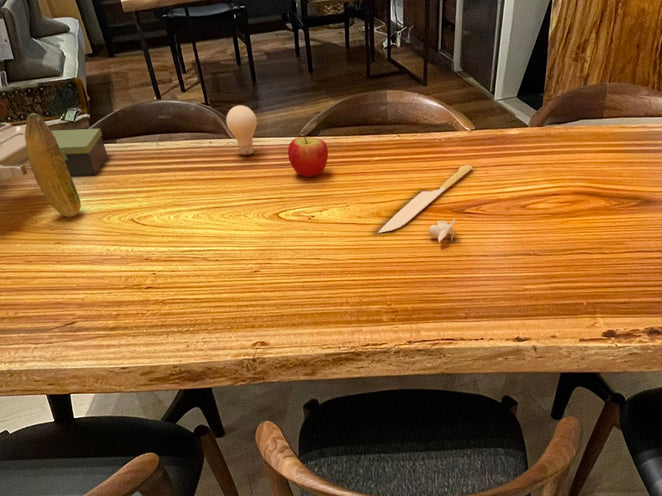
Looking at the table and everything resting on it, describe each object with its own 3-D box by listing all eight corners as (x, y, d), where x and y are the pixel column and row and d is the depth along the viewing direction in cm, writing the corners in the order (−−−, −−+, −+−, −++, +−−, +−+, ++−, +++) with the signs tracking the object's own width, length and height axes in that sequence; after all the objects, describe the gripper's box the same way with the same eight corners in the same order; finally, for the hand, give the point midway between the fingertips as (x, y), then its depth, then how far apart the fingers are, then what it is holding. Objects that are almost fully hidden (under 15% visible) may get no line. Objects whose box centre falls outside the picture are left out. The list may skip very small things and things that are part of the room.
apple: (286, 170, 137) (280, 124, 130) (323, 163, 139) (319, 118, 132) (296, 185, 131) (290, 138, 125) (334, 178, 133) (330, 131, 127)
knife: (369, 228, 116) (390, 232, 113) (457, 161, 136) (476, 163, 133) (370, 234, 117) (391, 238, 114) (457, 167, 136) (476, 169, 134)
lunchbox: (39, 178, 138) (28, 149, 133) (56, 157, 146) (46, 130, 142) (95, 176, 138) (85, 147, 134) (109, 155, 146) (100, 127, 142)
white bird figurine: (425, 224, 116) (435, 202, 113) (448, 232, 117) (459, 210, 114) (426, 246, 110) (437, 223, 107) (450, 254, 111) (461, 232, 108)
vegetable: (60, 226, 121) (18, 122, 108) (46, 216, 124) (3, 114, 111) (89, 215, 124) (51, 112, 111) (75, 205, 127) (36, 105, 114)
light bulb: (264, 158, 142) (257, 108, 135) (235, 163, 141) (226, 113, 133) (258, 147, 147) (250, 99, 140) (230, 152, 145) (221, 103, 138)
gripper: (-70, 160, 111) (-7, 167, 108) (10, 119, 125) (67, 124, 122) (-53, 193, 115) (9, 201, 112) (22, 149, 130) (79, 155, 127)
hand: (40, 160), depth 117 cm, fingers open, 8 cm apart
